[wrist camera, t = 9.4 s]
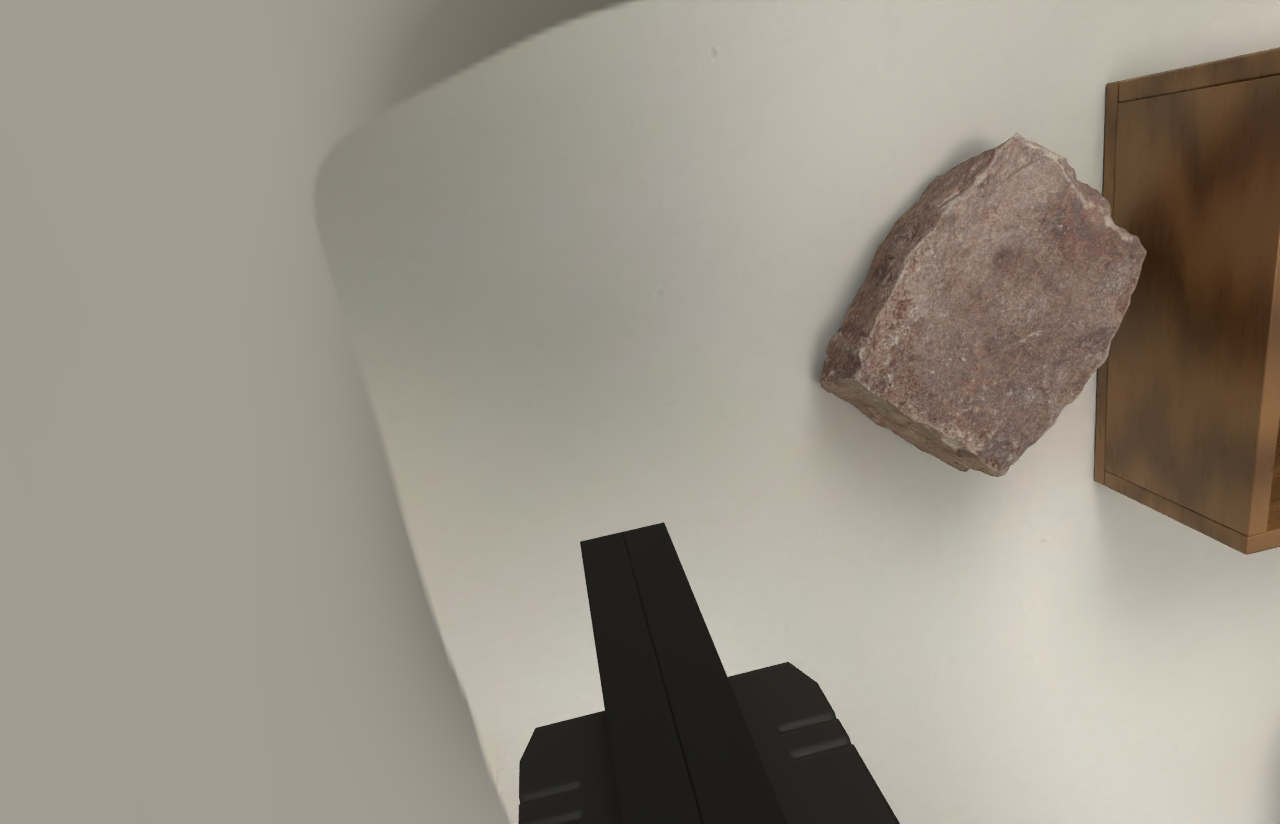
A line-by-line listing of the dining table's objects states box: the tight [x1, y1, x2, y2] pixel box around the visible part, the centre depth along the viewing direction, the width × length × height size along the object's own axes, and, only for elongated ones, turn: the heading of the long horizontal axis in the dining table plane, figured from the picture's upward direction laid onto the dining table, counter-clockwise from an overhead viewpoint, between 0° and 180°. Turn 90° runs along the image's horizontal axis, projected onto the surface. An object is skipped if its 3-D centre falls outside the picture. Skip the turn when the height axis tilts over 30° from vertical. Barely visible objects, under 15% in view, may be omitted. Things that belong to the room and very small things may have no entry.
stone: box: [819, 133, 1147, 477], centre depth 28 cm, size 12×9×5 cm
